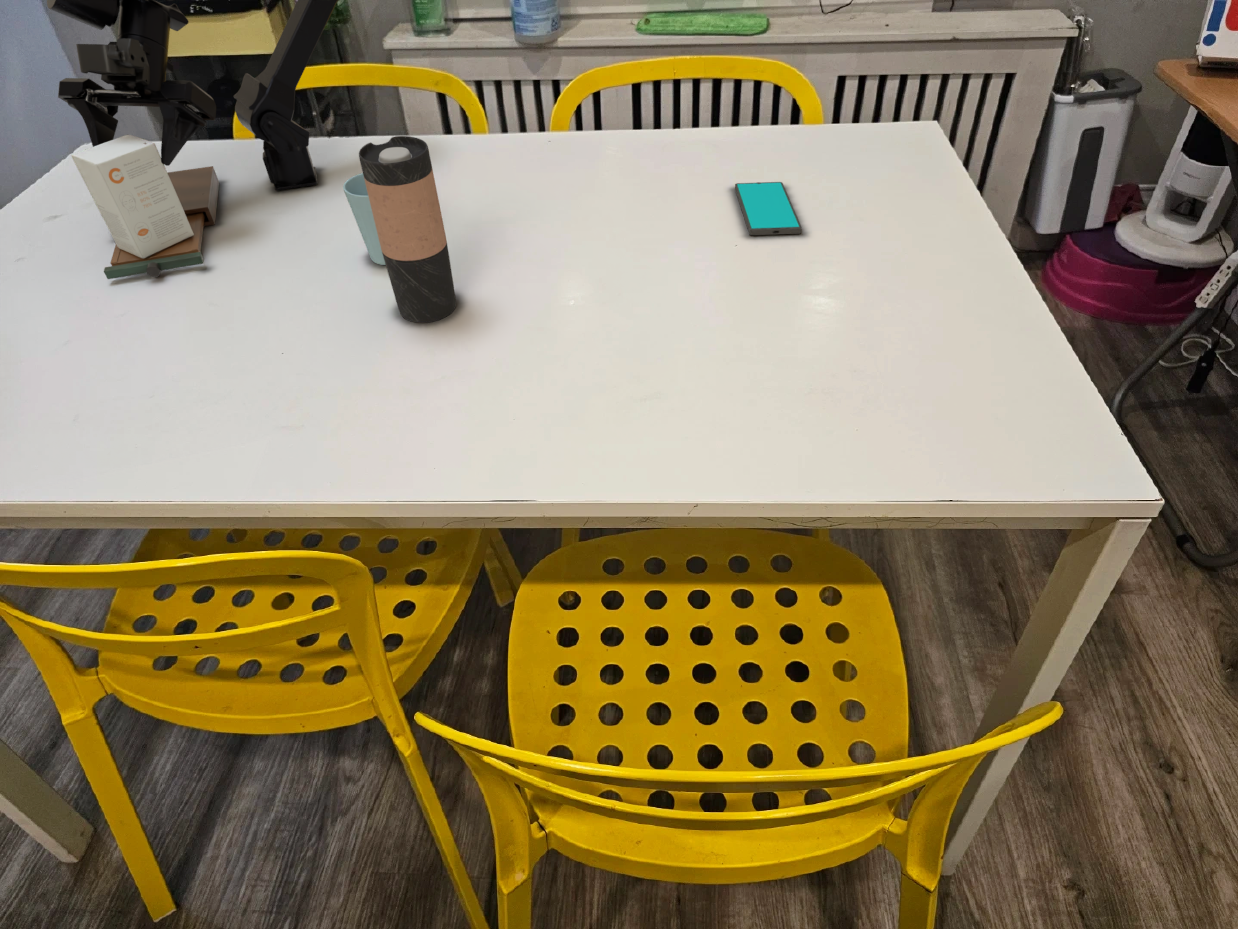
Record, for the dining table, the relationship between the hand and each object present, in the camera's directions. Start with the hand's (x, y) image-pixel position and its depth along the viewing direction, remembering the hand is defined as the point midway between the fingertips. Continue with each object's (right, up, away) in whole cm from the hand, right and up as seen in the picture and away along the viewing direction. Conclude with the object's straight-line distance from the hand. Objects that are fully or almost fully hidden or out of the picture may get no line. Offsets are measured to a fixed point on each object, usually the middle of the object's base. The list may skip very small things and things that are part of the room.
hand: (133, 163), depth 104 cm
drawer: (0, -10, +6) cm, 12 cm away
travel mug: (+40, -20, -5) cm, 45 cm away
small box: (0, -9, +6) cm, 11 cm away
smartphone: (+86, -3, +12) cm, 87 cm away
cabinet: (-4, -1, +17) cm, 17 cm away
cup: (+33, -11, +5) cm, 35 cm away
